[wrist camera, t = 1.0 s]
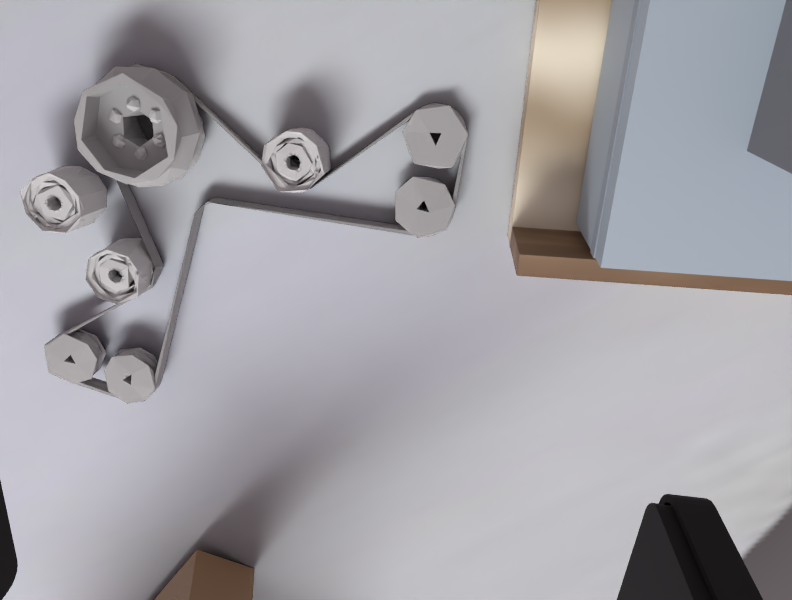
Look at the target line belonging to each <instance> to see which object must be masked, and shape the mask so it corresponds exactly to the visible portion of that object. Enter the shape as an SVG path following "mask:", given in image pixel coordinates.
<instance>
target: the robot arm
mask: <svg viewBox="0 0 792 600" xmlns="http://www.w3.org/2000/svg"><path fill="white" fill-rule="evenodd" d="M17 566H18V565H17V557H16V553H15V548H14V543H13V538H12V534H11V529H10V524H9V519H8V515H7V510H6V505H5V500H4V496H3V491H2V486H1V482H0V600H2V599H3V597H4V596H5V595H6V593H7V592H8V591H9V589H10V587H11V586H12V584H13V581H14V579H15V576H16V573H17ZM617 600H763V599H762V597H761V595H760V593H759V591H758V589H757V587H756V585H755V583H754V581H753V579H752V578H751V576H750V574H749V572H748V570H747V568H746V566H745V564H744V562H743V560H742V558H741V556H740V554H739V552H738V550H737V548H736V546H735V544H734V542H733V540H732V538H731V537H730V535H729V533H728V531H727V529H726V527H725V525H724V523H723V521H722V519H721V517H720V515H719V513H718V511H717V509H716V507H715V506H714V504H713V503H712V502H711V501H710V500H708V499H705V498H697V497H688V496H680V495H671V494H666V495H664V496H663V497H662V498H661V500H660V502H659V504H655V503H650V504H649V505H648V506H647V508H646V510H645V513H644V516H643V519H642V523H641V526H640V529H639V532H638V535H637V538H636V541H635V545H634V548H633V551H632V554H631V557H630V560H629V563H628V566H627V570H626V573H625V576H624V579H623V582H622V585H621V588H620V592H619V595H618V598H617Z"/></svg>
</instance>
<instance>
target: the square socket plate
mask: <svg viewBox="0 0 792 600" xmlns="http://www.w3.org/2000/svg"><path fill="white" fill-rule="evenodd" d="M576 224H577V226H578V228H579V230H580V231H581V233H582V235H583V237H584V239H585V240H586V242H587V244H588V246H589V248H590V249H591V251H590V253H591V255H592V256H593V258H596V260H597V262H598V264H599V265H600V267H601V268H612V269H626V270H640V271H655V272H669V273H683V274H697V275H712V276H726V277H740V278H754V279H769V280H783V281H792V0H612V5H611V11H610V17H609V24H608V30H607V36H606V42H605V48H604V54H603V60H602V66H601V72H600V79H599V85H598V91H597V97H596V103H595V109H594V115H593V121H592V127H591V134H590V140H589V146H588V152H587V158H586V164H585V170H584V176H583V182H582V189H581V195H580V201H579V207H578V213H577V219H576Z"/></svg>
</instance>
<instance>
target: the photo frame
mask: <svg viewBox="0 0 792 600" xmlns="http://www.w3.org/2000/svg"><path fill="white" fill-rule="evenodd" d="M253 582H254V568H251V567H248V566H245V565H242V564H239V563H236V562H233V561H230V560H227V559H224V558H221V557H218V556H215V555H212V554H209V553H206V552H203V551H200V550H196V551H195V552H194V553H193V555H192V556H191V557H190V558H189V559H188V561H187V562H186V563H185V564H184V565H183V566H182V568H181V569H180V570H179V571H178V572H177V573H176V575H175V576H174V577H173V578H172V579H171V580H170V582H169V583H168V584H167V585H166V586H165V588H164V589H163V590H162V591H161V592H160V593H159V595H158V596H157V597H156V598H155V599H154V600H252V597H253Z"/></svg>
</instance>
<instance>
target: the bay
mask: <svg viewBox="0 0 792 600" xmlns="http://www.w3.org/2000/svg"><path fill="white" fill-rule="evenodd" d="M611 5H612V0H536V6H535V14H534V22H533V31H532V39H531V47H530V55H529V64H528V72H527V80H526V89H525V97H524V105H523V113H522V122H521V130H520V138H519V146H518V155H517V163H516V171H515V180H514V188H513V196H512V204H511V213H510V221H509V229H508V240H509V244H510V248H511V253H512V257H513V261H514V265H515V270H516V274H517V276H531V277H545V278H560V279H574V280H588V281H602V282H616V283H630V284H644V285H658V286H672V287H686V288H700V289H714V290H728V291H742V292H756V293H770V294H784V295H792V281H783V280H769V279H754V278H740V277H726V276H712V275H697V274H683V273H669V272H655V271H640V270H626V269H612V268H601V267H600V265H599V264H598V262H597V260H596V258H593V256H592V255H591V253H590V251H591V249H590V248H589V246H588V244H587V242H586V240H585V239H584V237H583V235H582V233H581V231H580V230H579V228H578V226H577V224H576V219H577V213H578V207H579V201H580V195H581V189H582V182H583V176H584V170H585V164H586V158H587V152H588V146H589V140H590V134H591V127H592V121H593V115H594V109H595V103H596V97H597V91H598V85H599V79H600V72H601V66H602V60H603V54H604V48H605V42H606V36H607V30H608V24H609V17H610V11H611Z"/></svg>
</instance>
